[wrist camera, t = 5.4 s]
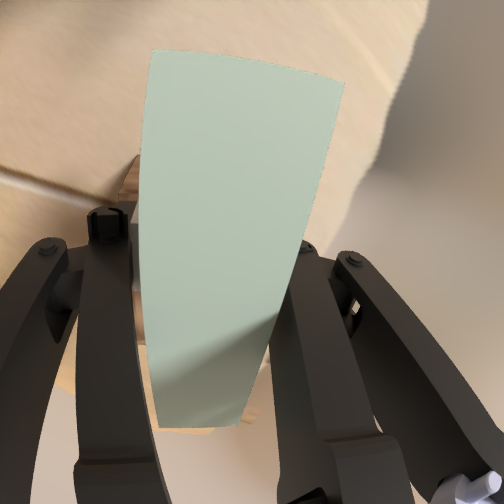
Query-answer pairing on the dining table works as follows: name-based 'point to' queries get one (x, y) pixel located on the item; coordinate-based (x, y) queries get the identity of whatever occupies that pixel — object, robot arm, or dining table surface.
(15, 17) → the dining table surface
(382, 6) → the dining table surface
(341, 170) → the dining table surface
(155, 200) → the door
